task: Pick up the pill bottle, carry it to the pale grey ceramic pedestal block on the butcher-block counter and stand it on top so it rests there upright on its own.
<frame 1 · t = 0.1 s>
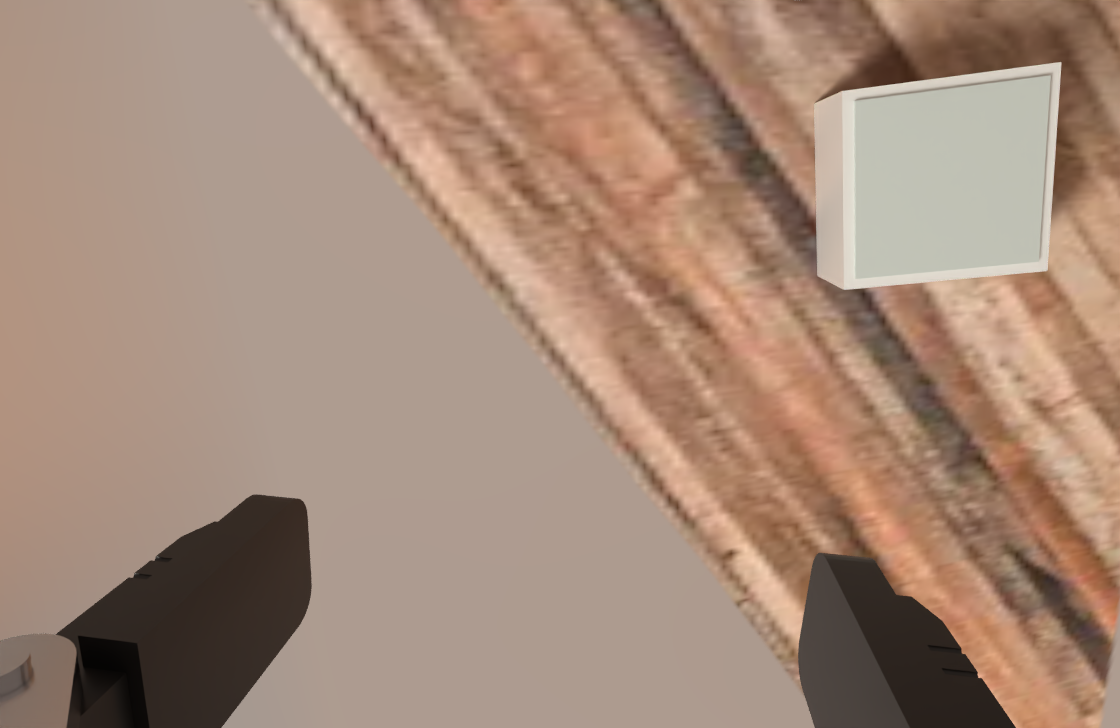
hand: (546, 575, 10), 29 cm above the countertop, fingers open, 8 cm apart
pedestal: (904, 182, 35), on the countertop
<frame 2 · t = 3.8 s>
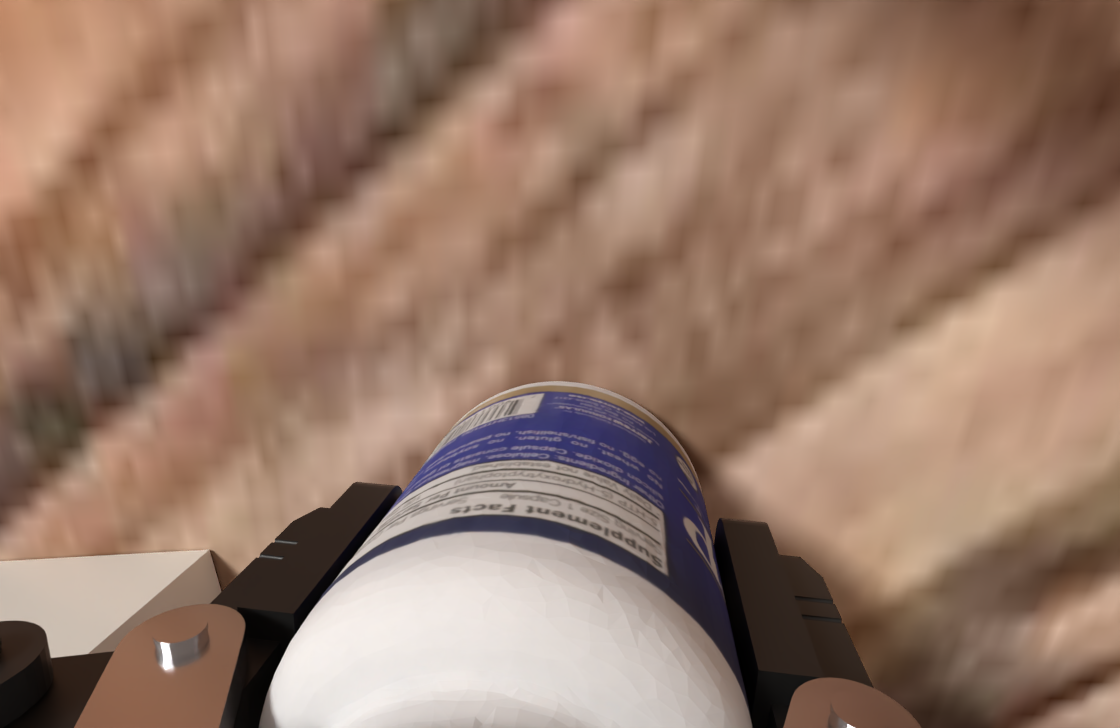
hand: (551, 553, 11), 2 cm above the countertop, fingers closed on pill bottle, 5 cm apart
pill bottle: (565, 501, 13), on the countertop, touching gripper
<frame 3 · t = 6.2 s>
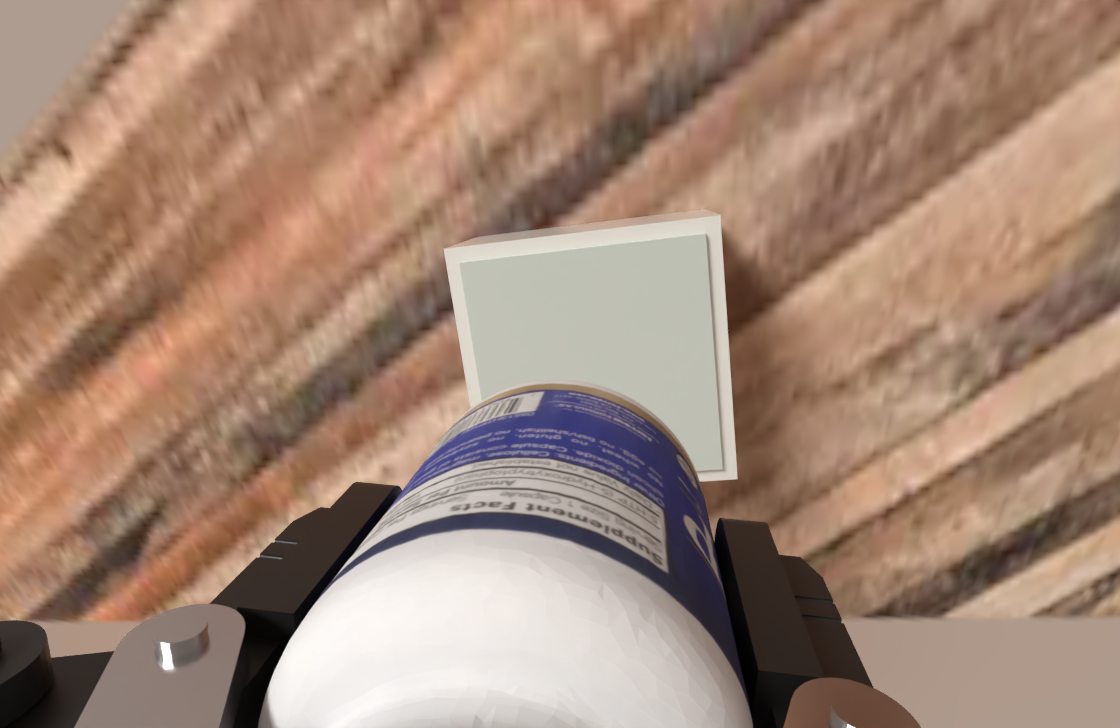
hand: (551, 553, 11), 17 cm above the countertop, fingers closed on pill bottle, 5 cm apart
pedestal: (601, 334, 27), on the countertop
pill bottle: (565, 499, 13), point 15 cm above the countertop, touching gripper
when the fingers open (8 cm above the countertop, at t = 8.6 s): pill bottle stays where it is, resting on pedestal.
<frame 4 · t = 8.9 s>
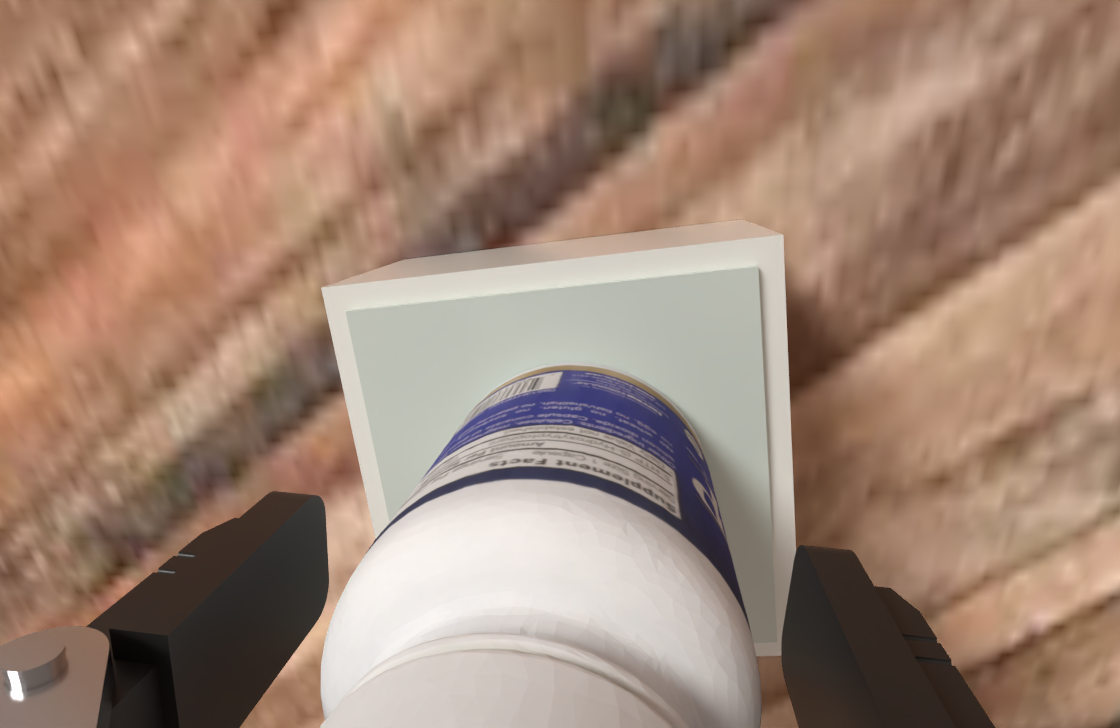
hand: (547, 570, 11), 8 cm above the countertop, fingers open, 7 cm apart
pedestal: (586, 401, 19), on the countertop
pill bottle: (579, 475, 14), point 5 cm above the countertop, touching pedestal
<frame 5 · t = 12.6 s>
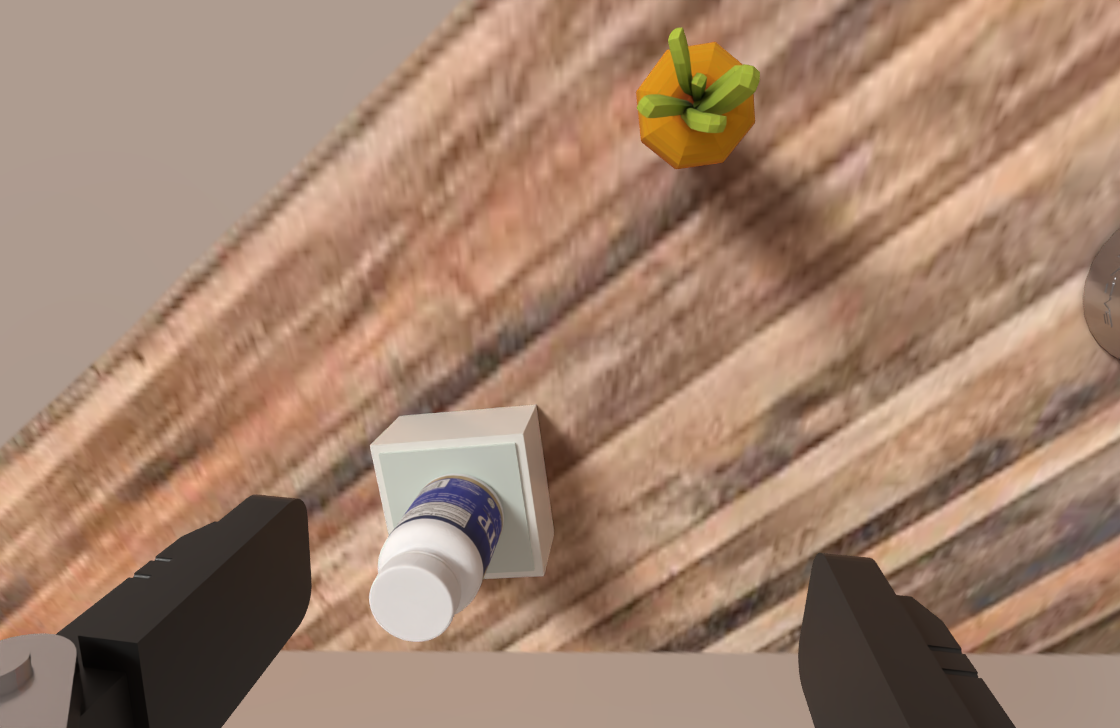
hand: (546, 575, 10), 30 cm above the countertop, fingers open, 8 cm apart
carrot: (680, 126, 37), on the countertop
pedestal: (477, 475, 44), on the countertop
pill bottle: (461, 510, 39), point 5 cm above the countertop, touching pedestal
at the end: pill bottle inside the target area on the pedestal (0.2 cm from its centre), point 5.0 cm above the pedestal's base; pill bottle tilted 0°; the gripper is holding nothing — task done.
